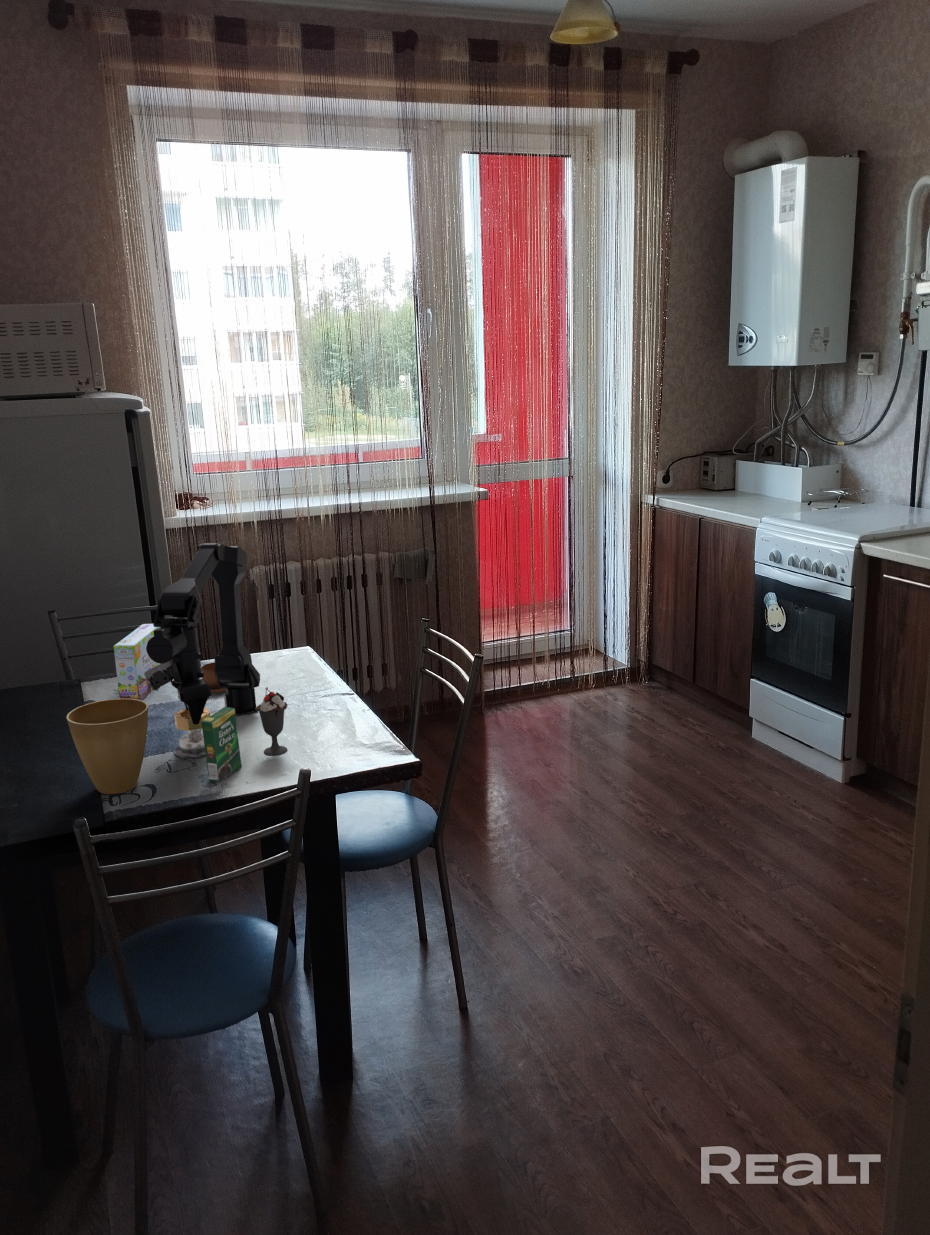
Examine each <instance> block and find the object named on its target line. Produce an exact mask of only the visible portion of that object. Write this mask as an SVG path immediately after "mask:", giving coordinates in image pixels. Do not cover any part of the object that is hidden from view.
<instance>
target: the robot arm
mask: <svg viewBox="0 0 930 1235" xmlns="http://www.w3.org/2000/svg"><path fill="white" fill-rule="evenodd" d="M247 564H248V554H247V552H246V551H245V550H243V548H242V547H241V546H240V545H238V546H237V545H233V546H232V545H229V546H228V545H224V544H221V543H219V542H216V543H215V542H212V543H211V542H210V543H209V542H205V543H201V544H199V545H198V546H197V548H196V553H195V555H194V557H193V558H192V560H191V561H190V563H189V565H188V566H187V568H186V569H185V571H184V572H183V574H182V575H181V578H179V580H177V581H175V582H173V583H171V584H169V585H168V586H167V587H166V588H165V589H164V590H163V591H162V593H161V594H160V596H159V597H158V602H157V607H156V610H155V616H154V622H153V623H152V624H153V626H154V627H161V628H159V629H155V630H154V637H152V638H151V639H150V640H149V641H148V643H147V647H146V651H147V654H148V656H149V657H150V658H151V659H152V660H153V661H154V662H156V663H160V664H159V665H157V666H155V667H153V668H151V669H149V670H148V671H146V672H145V673H144V675H145V677H146V679H147V681H148V682H149V684H150V686H151V688H152V689H153V690H152V691H157V690H159V689H160V688H161V687H163V686H164V685H167V684H168V683H170V684H171V686H172V687H174V688H175V689H176V690H177V695H178V696H177V697H178V699H179V701H180V702H182V703H183V704H184V706H185V709H188V710H189V713H190V716H191V719H192V722H193V724H194V725H197V724H199V722H200V719H201V716H202V713H203V710H204V708H206V705H207V702H208V699H209V698H210V697H212V694H213V693H211V687H210V686H209V684H208V683H207V682H206V681H204V680H203V679H202V678H203V677H204V674H203V672H202V670H201V667H202V663H201V660H202V653H201V651H200V647H199V638H198V637H199V636H198V630H197V624H198V623H199V622H200V618H198V614H199V611H200V609H201V606H202V603H203V602H202V598H201V594H202V591H203V589H204V588H205V586H206V584H207V582H208V580H209V579H210V577H212V579H213V580H214V582H215V584H216V585H217V587H218V590H217V591H218V600H219V601H218V602H219V605H218V606H219V619H220V635H221V648H220V650H219V653H218V654H217V655H215V657H214V662H215V676H216V679H217V683H218V686H219V688H226V691H225V692H223V698H224V707H229V708H235V715H236V716H239V715H246V714H251V713H257V712H258V711H257V710H256V709H255V708H256V707H257V701H256V692H255V691H256V689H255V688H258V687H260V684H261V682H260V681H261V673H260V672H259V671H258V670H257V668H256V667H255V666H254V664H253V660H252V654H251V653H250V652H249V650H248V649H247V648H246V646H245V645H244V637H243V634H244V633H243V619H242V617H243V616H242V605H241V604H242V602H241V601H242V600H241V586H240V585H241V584H240V583H241V582H242V580H243V578H244V576H245V575H246V572H247ZM200 679H202V680H200Z"/></svg>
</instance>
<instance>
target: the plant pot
mask: <svg viewBox="0 0 930 1235" xmlns="http://www.w3.org/2000/svg"><path fill="white" fill-rule="evenodd" d="M66 720H67V724H68V727H69V732H70V734H71V737H72V740H73V743H74V745H75V748H76V751H77V753H78V755H79V758H80V761H81V762H82V764H83V767H84V769H85V771H86V773H87V775H88V776H89V779H90V780H91V781H92V784H93V785H94V786H95V788H96V790H97V791H98V792H99V793H100V794H102V795H103V794H104V795H116V794H123V793H127V792H129V791H131V790H132V789H134V788H136V786H137V785H138V782H139V781H138V780H139V778H140V774H141V770H142V765H143V762H144V761H143V760H144V756H145V751H146V743H147V734H148V724H149V723H148V721H149V705H148V703H147V702H146V701H143V700H137V699H120V698H111V699H104V700H98V701H97V700H96V701H93V702H90V703H87V704H84V705H81V706H77V707H76V708H74V709H72V710H70V712H68V713H67V715H66Z"/></svg>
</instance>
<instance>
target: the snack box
mask: <svg viewBox="0 0 930 1235" xmlns="http://www.w3.org/2000/svg"><path fill="white" fill-rule="evenodd" d="M153 624H154V623H142V624H141V625H139V626H138V627H137V628H136V629H134V630H133V631H132V632H130V633H129V634H128V635H127V636H125V637H124V638H122V639H121V640H120V641H118V642H117V643H116V644H114V645H113V653H114V661H115V671H116V678H117V688H118V697H119V698H118V699H137V700H141V701H143V699H144V698H146V697H147V696H148V695H149V694H150V693H151V692H153V691H154V690H153V689H152V688H151V686H150V684H149V682H148V681H147V679H146V677H145V675H144V673H145V672H146V671H148V670H149V669H151V668H153V667H155V666H157V665H159V664H160V663H156V662H154V661H153V660H152V659H151V658H150V657H149V656H148V654H147V651H146V647H147V643H148V641H149V640H150V639H151V638H152V637H154V630H155V629H159V628H161V627H154V626H153Z"/></svg>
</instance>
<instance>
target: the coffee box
mask: <svg viewBox="0 0 930 1235" xmlns="http://www.w3.org/2000/svg"><path fill="white" fill-rule="evenodd" d="M236 716H237V715H235V708H229V707H225V706H223V707H222V708H220V709H218V710H217V711H216V712H214V713H212V714H210V716H209V717H208V718H206V719H204V720H203V721H202V722H201V723H202V729H201V731H202V732H203V738H204V746H205V754H206V756H205V760H206V768H207V769H206V770H207V777H208V782H214V783H221V782H222V781H224V780H226V779H227V778H228V777H230V776H231V775H232V774H234V773H235V772H237V771H238V770H239V769H241V768H242V767H243V766H242V758H241V751H240V750H241V748H240V743H239V742H240V741H239V734H238V726H237V717H236Z"/></svg>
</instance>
